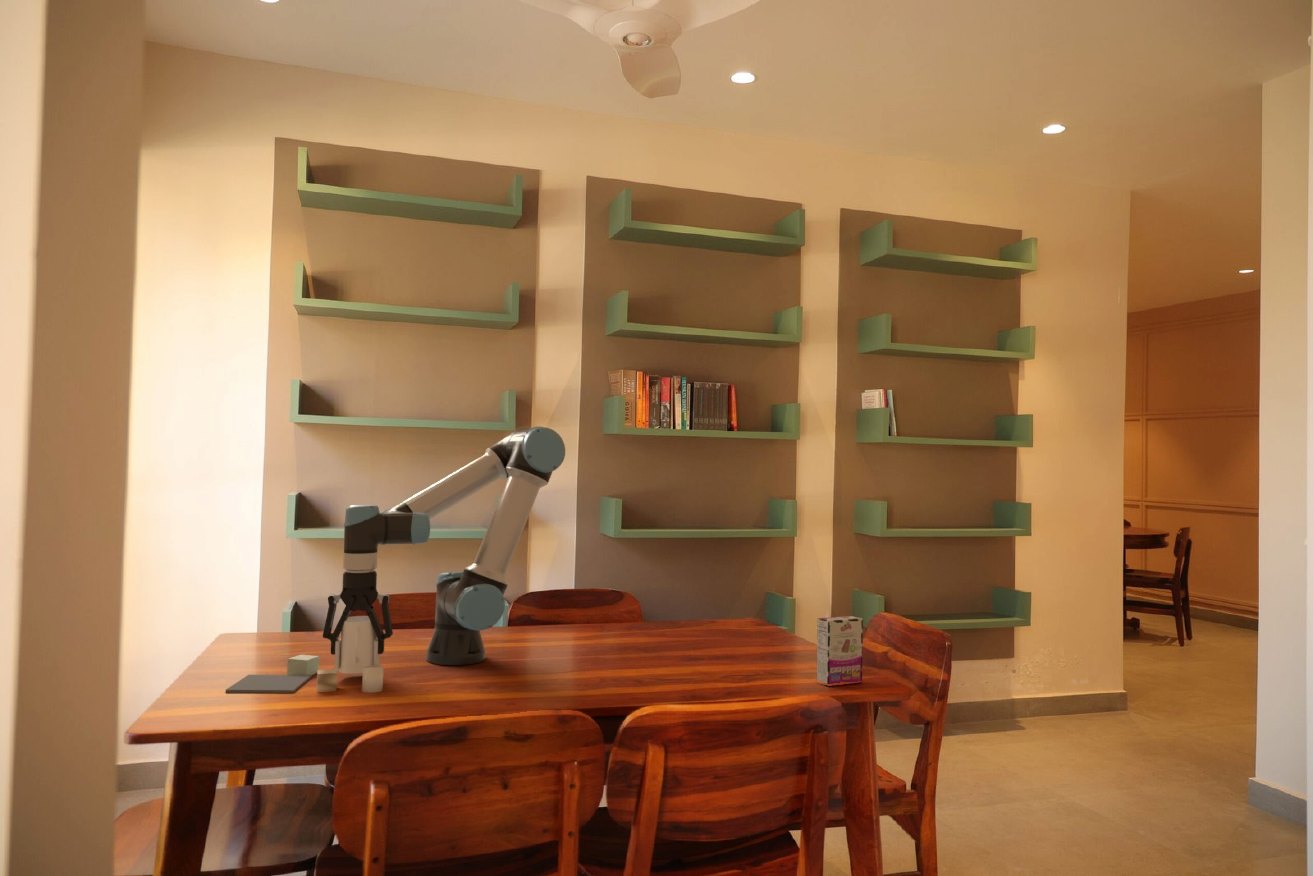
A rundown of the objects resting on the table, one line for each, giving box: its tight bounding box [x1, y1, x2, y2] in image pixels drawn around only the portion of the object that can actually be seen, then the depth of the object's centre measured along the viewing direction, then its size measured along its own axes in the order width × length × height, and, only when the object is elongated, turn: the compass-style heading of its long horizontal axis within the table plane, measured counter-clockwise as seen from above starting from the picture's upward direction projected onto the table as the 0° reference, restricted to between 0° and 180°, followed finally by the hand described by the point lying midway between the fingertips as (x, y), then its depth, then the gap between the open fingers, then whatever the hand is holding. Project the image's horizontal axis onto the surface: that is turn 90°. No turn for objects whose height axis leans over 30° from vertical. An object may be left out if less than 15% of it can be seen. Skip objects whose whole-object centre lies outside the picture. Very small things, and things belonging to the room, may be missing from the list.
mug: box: [338, 615, 378, 675], centre depth 195 cm, size 12×8×12 cm
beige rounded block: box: [361, 665, 385, 694], centre depth 186 cm, size 4×4×5 cm
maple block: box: [316, 668, 338, 693], centre depth 186 cm, size 4×4×4 cm
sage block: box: [286, 654, 320, 676], centre depth 199 cm, size 5×5×4 cm
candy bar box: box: [816, 615, 864, 684], centre depth 210 cm, size 11×5×16 cm, turn 117°
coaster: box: [225, 674, 312, 694], centre depth 187 cm, size 14×14×1 cm
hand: (357, 668), depth 195 cm, fingers closed on mug, 8 cm apart
